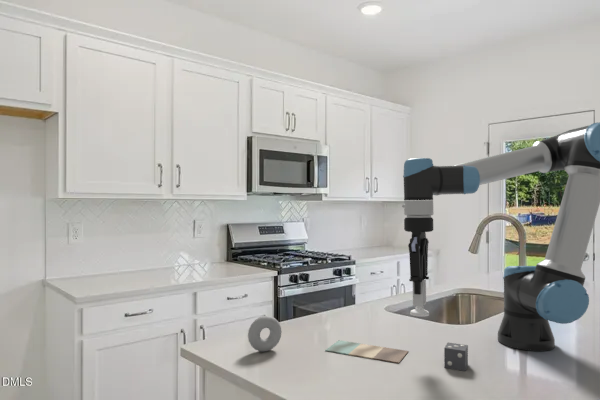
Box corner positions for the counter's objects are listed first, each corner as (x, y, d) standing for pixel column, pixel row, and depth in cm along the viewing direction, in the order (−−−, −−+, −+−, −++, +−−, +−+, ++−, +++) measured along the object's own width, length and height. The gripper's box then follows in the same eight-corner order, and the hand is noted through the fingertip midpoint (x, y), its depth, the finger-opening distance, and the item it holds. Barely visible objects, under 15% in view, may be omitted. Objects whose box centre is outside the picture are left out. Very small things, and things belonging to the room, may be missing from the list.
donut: (250, 356, 121) (250, 319, 121) (246, 352, 124) (246, 316, 124) (283, 350, 126) (283, 315, 126) (278, 346, 129) (278, 312, 129)
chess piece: (430, 317, 115) (429, 278, 115) (410, 316, 116) (410, 278, 116) (428, 312, 120) (428, 275, 120) (409, 311, 121) (409, 275, 121)
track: (408, 352, 124) (408, 350, 124) (398, 363, 115) (398, 362, 115) (338, 341, 134) (338, 340, 134) (325, 351, 125) (325, 349, 125)
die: (467, 364, 115) (467, 344, 115) (465, 371, 110) (465, 350, 110) (447, 361, 117) (447, 342, 117) (444, 367, 112) (444, 347, 112)
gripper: (411, 215, 127) (412, 298, 126) (397, 217, 113) (398, 309, 113) (438, 215, 123) (439, 300, 123) (426, 217, 110) (428, 312, 110)
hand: (419, 304), depth 118 cm, fingers closed on chess piece, 2 cm apart
